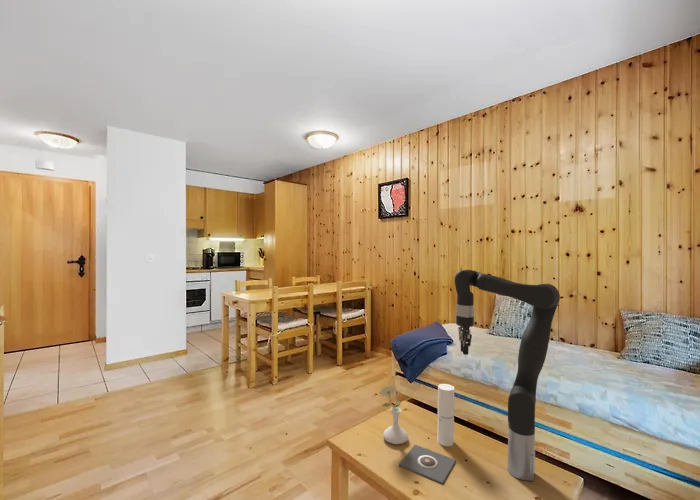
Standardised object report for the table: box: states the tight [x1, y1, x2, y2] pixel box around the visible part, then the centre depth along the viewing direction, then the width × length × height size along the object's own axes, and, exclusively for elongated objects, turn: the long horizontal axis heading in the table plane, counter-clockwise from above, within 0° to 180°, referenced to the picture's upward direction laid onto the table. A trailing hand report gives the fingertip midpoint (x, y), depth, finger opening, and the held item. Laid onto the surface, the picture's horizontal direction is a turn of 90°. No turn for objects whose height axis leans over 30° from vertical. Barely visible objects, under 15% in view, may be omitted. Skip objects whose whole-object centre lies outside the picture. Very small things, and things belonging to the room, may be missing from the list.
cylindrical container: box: [436, 383, 455, 447], centre depth 151 cm, size 7×7×25 cm
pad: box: [398, 444, 457, 485], centre depth 136 cm, size 18×16×1 cm
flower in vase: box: [379, 384, 409, 445], centre depth 152 cm, size 13×11×25 cm
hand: (464, 352), depth 148 cm, fingers open, 3 cm apart
